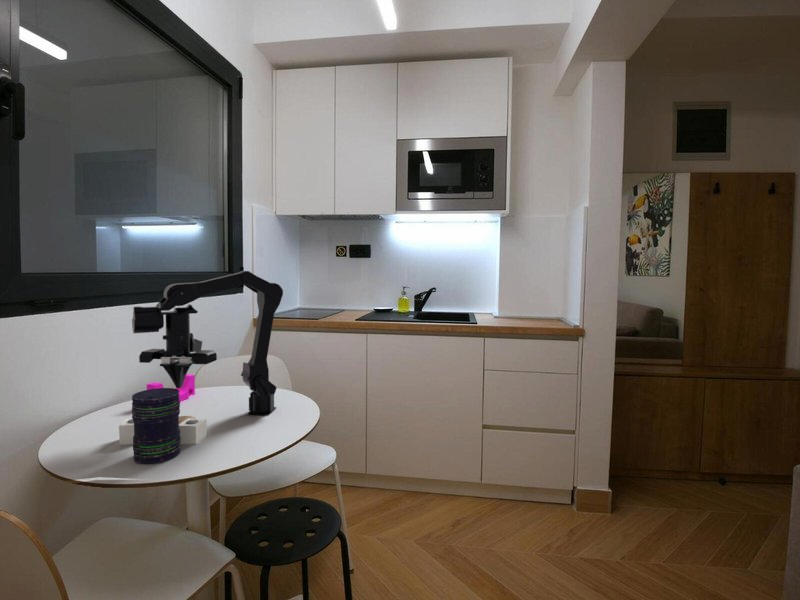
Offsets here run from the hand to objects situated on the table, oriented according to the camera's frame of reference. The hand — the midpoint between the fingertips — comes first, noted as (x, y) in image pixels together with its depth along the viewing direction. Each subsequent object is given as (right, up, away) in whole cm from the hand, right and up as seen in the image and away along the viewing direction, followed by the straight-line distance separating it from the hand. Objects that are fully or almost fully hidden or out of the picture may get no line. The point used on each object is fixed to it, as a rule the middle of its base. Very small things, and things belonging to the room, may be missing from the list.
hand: (179, 387), depth 115 cm
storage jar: (+2, -13, -15) cm, 20 cm away
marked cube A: (+6, -13, -6) cm, 15 cm away
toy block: (-15, -11, +27) cm, 33 cm away
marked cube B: (-9, -12, -6) cm, 16 cm away
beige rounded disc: (0, -12, +1) cm, 12 cm away
